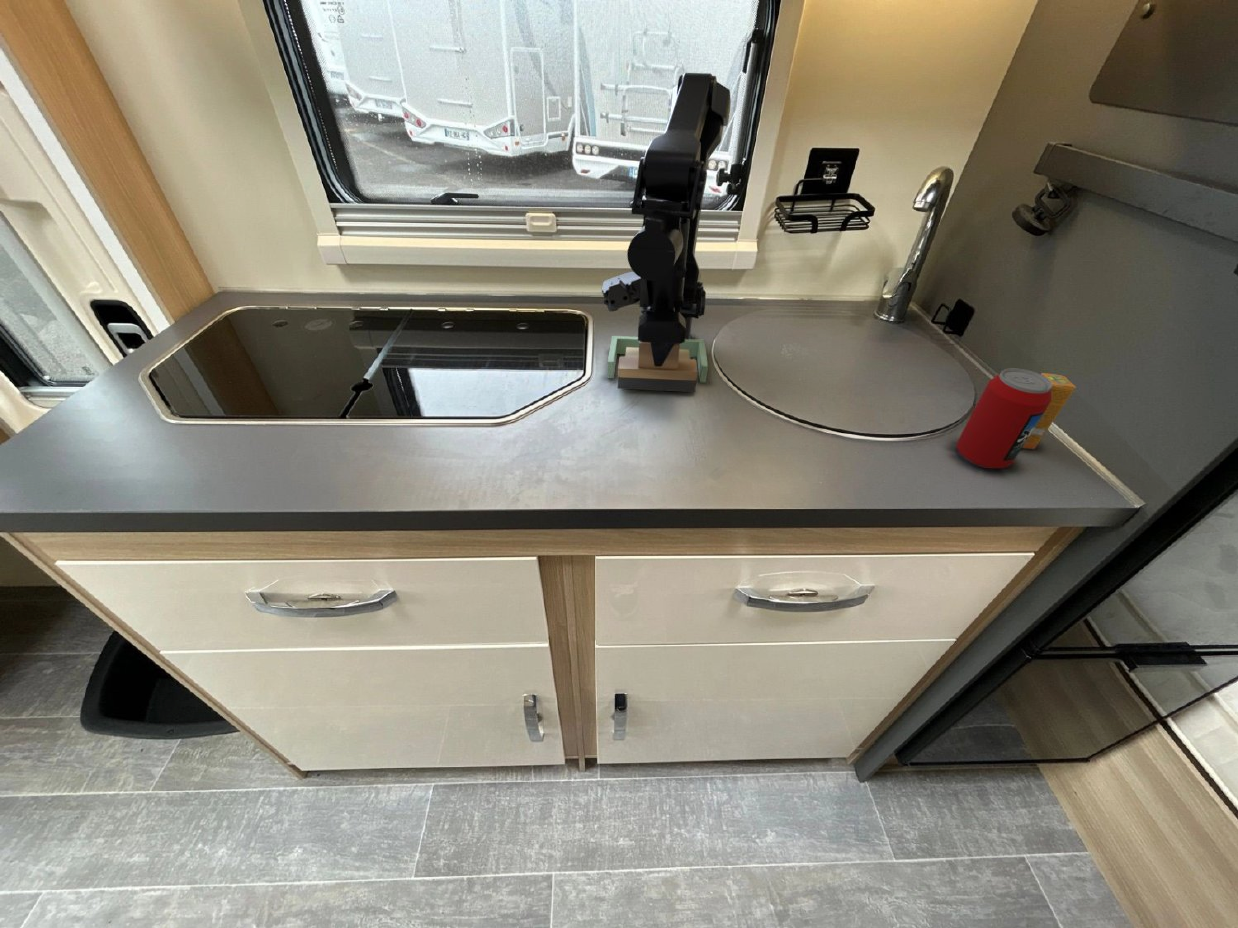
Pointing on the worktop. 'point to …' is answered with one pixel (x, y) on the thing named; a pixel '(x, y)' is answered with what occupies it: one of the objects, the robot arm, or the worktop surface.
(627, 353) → the block
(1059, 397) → the supplement box
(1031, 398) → the beverage can
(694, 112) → the robot arm
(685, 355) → the block
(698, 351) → the corral
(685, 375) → the brush
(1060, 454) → the worktop surface
